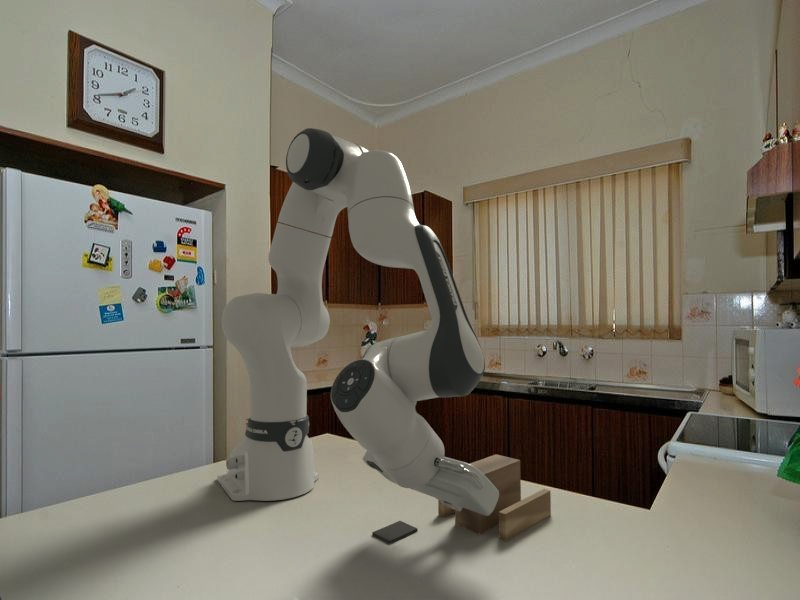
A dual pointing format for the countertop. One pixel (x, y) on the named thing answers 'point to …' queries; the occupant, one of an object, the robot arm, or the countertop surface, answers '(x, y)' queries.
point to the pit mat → (394, 532)
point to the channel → (516, 514)
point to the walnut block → (506, 481)
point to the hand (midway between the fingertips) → (455, 504)
